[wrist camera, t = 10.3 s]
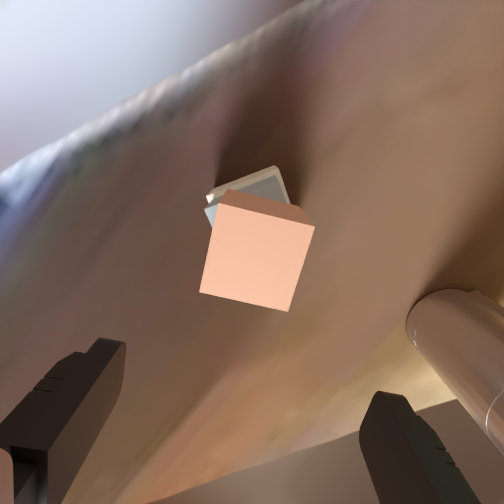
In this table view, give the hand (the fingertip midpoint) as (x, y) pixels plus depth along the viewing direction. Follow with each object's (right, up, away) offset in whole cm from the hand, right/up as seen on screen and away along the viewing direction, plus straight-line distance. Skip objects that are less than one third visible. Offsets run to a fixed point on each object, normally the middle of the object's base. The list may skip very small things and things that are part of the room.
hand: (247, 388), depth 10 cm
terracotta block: (0, +6, +14) cm, 15 cm away
